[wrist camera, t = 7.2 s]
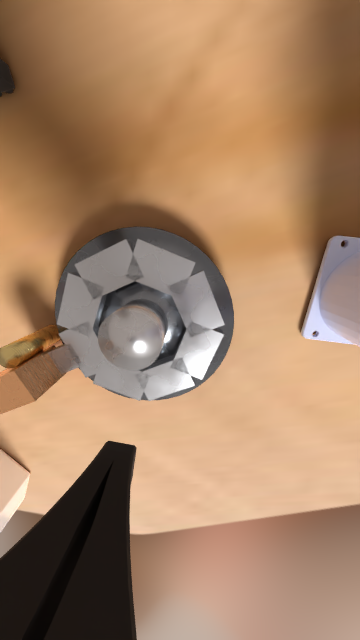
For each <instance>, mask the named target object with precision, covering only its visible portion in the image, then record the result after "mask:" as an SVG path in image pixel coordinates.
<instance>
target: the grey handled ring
mask: <svg viewBox="0 0 360 640" xmlns="http://www.w3.org/2000/svg"><path fill="white" fill-rule="evenodd" d="M74 265H75V267H76V269H77V270H78V272H79V273H78V272H70V273H68V276H67V280H66V285H65V289H64V294H63V298H62V303H61V307H60V312H59V316H58V321H57V325H60V326H62V327H65V328H68V329H66V330H64V331H63V332H61V333H59V335H60V337H61V339H62V340H63V342H64V343H65V344H63V345H60V346H58V347H55V345H54V346H52V347H49V348H47V349H45V350H42V351H41V352H39V353H37V354H36V355H34V356H33V357H31V358H29V359H28V360H26V361H24V362H23V363H21V364H20V365H18V366H16V367H15V368H11V369H10V368H7V369H6V370H4V371H2V372H0V414H2V413H5V412H7V411H10V410H13V409H15V408H18V407H21V406H23V405H26V404H29V403H31V402H34V401H36V400H37V399H38V398H39V397H40V396H41V395H42V394H44V393H45V392H46V391H47V390H48V389H49V388H50V387H51V386H52V385H54V384H55V383H56V382H57V381H58V380H59V379H60V378H61V377H62V376H63V375H65V374H66V373H67V372H68V371H71V370H73V369H76V368H78V367H79V368H80V369H81V371H82V372H83V374H84V376H85V377H89V376H91V375H94V374H96V375H95V379H94V382H93V384H96V385H99V386H101V387H104V388H107V389H109V390H112V391H115V392H118V393H120V394H123V395H126V396H128V397H131V398H134V399H136V400H139V401H140V400H141V397H142V395H143V392H144V393H145V395H146V396H147V398H148V400H149V401H151V400H154V399H157V398H160V397H163V396H166V395H168V394H171V393H174V392H177V391H180V390H183V389H186V388H189V387H192V386H195V378H194V377H196V378H199V379H201V380H202V378H203V376H204V374H205V372H206V370H207V368H208V366H209V364H210V362H211V360H212V358H213V356H214V354H215V352H216V350H217V348H218V346H219V344H220V342H221V340H222V338H223V336H224V333H223V331H222V330H221V329H219V328H217V327H220V326H223V325H225V324H224V322H223V319H222V317H221V314H220V311H219V309H218V306H217V304H216V301H215V299H214V296H213V294H212V291H211V288H210V286H209V283H208V281H207V278H206V276H205V273H204V271H203V270H202V271H199V272H197V273H195V274H193V275H191V273H192V270H193V268H194V265H195V262H193V261H191V260H188V259H186V258H184V257H181V256H179V255H176V254H174V253H171V252H169V251H167V250H164V249H162V248H159V247H157V246H154V245H152V244H150V243H147V242H145V241H142V240H140V239H137V242H136V246H135V249H134V246H133V244H132V242H131V240H128V239H125V240H123V241H121V242H119V243H117V244H115V245H113V246H111V247H109V248H107V249H105V250H103V251H101V252H99V253H97V254H95V255H93V256H91V257H89V258H87V259H85V260H83V261H81V262H79V263H77V264H74ZM134 281H136V282H139V283H141V284H144V285H146V286H149V287H151V288H154V289H156V290H159V291H161V292H164V293H166V294H169V295H171V296H172V298H173V300H174V302H175V304H176V307H177V309H178V311H179V313H180V315H181V318H182V320H183V322H184V324H185V327H186V329H185V331H184V334H183V336H182V338H181V341H180V343H179V345H178V348H177V350H176V352H175V354H174V355H172V356H169V357H166V358H164V359H161V360H158V361H155V362H154V363H152V364H151V365H150V366H148V367H146V368H144V369H141V370H125V369H122V368H119V367H117V366H115V365H113V364H112V363H111V362H109V361H108V360H107V359H106V358H105V356H104V355H103V353H102V352H101V350H100V347H99V343H98V332H99V328H100V327H99V321H100V318H101V314H102V311H103V307H104V304H105V300H106V297H107V294H108V293H110V292H112V291H115V290H117V289H119V288H121V287H123V286H126V285H128V284H130V283H132V282H134Z"/></svg>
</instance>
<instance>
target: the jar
mask: <svg viewBox="0 0 360 640" xmlns="http://www.w3.org/2000/svg"><path fill="white" fill-rule="evenodd" d="M29 477H30V473H29V472H28V471H27V470H26V469H25V468H23V467H22V466H21V465H20V464H18V463H17V462H16V461H15V460H14V459H12V458H11V457H10V456H9V455H8V454H6V453H5V452H4V451H3V450H1V449H0V533H1V531H2V530H3V528H4V527H5V525H6V524H7V523H8V521H9V520H10V518H11V517H12V515H13V514H14V513H15V511H16V510H17V508H18V507H19V505H20V504H21V503H22V501H23V500H24V498H25V494H26V490H27V486H28V481H29Z"/></svg>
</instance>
